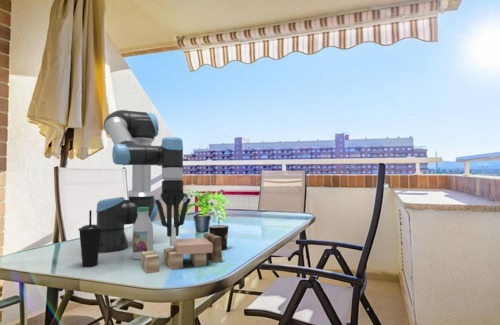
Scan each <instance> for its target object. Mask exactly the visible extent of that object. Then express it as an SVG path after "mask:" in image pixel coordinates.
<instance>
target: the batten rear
mask: <svg viewBox="0 0 500 325" xmlns="http://www.w3.org/2000/svg"><path fill="white" fill-rule="evenodd" d="M140 266H141V269H143V270H144V272H145V273H146V274H152V273H158V272H160V255H159V254H157V253H156V252H155V251H154V249H153V250H151V251H143V252H141V259H140Z"/></svg>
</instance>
